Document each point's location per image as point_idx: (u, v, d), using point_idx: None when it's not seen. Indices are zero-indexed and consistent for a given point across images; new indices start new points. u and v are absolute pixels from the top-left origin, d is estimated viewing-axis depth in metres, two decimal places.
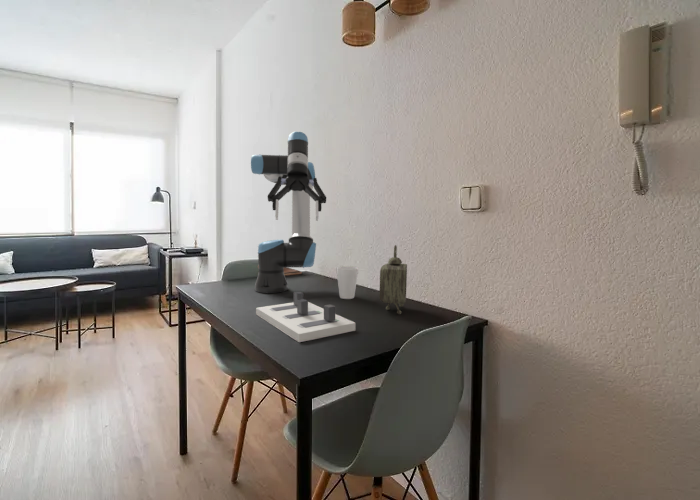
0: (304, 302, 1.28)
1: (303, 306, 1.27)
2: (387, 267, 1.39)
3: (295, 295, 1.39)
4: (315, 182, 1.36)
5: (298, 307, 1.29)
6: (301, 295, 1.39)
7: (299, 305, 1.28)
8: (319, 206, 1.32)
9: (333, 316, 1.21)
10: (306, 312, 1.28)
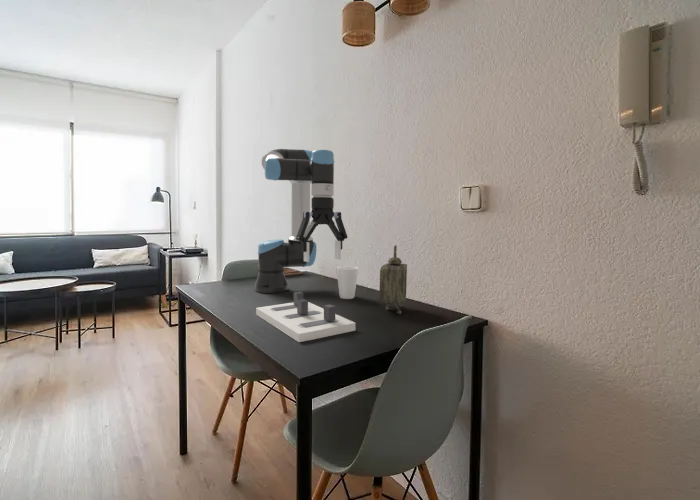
0: (304, 302, 1.28)
1: (303, 306, 1.27)
2: (387, 267, 1.39)
3: (295, 295, 1.39)
4: (339, 218, 1.33)
5: (298, 307, 1.29)
6: (301, 295, 1.39)
7: (299, 305, 1.28)
8: (340, 246, 1.35)
9: (333, 316, 1.21)
10: (306, 312, 1.28)
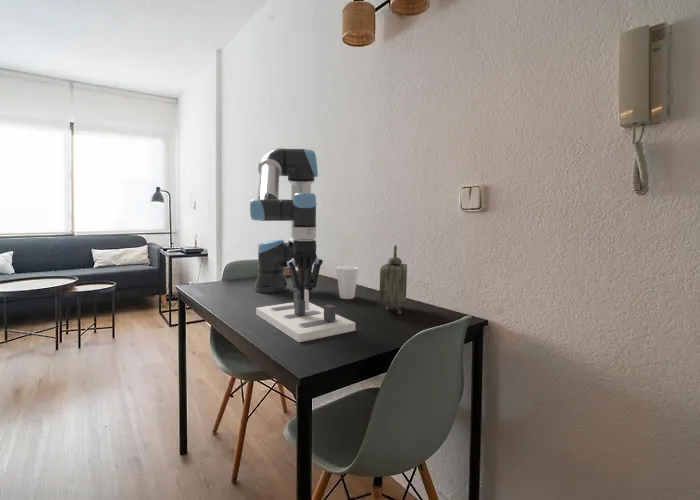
0: (301, 302, 1.27)
1: (300, 306, 1.27)
2: (387, 267, 1.39)
3: (295, 295, 1.39)
4: (319, 265, 1.30)
5: (295, 307, 1.28)
6: None
7: (296, 305, 1.28)
8: (309, 295, 1.29)
9: (333, 316, 1.21)
10: (303, 312, 1.28)
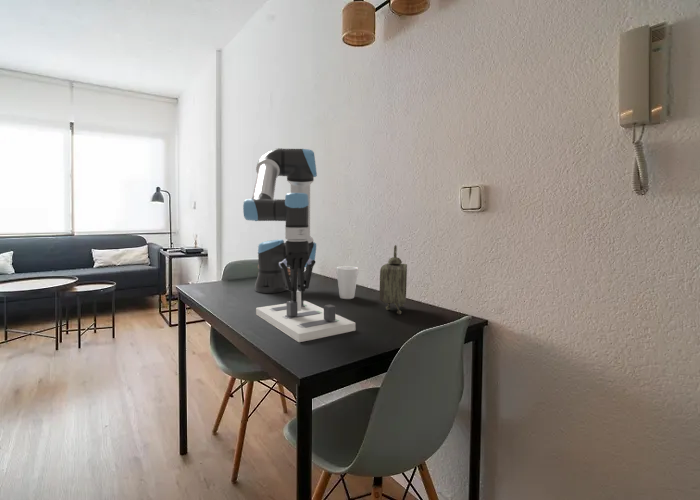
0: (293, 304, 1.25)
1: (292, 308, 1.25)
2: (387, 267, 1.39)
3: None
4: (311, 265, 1.28)
5: (287, 309, 1.27)
6: None
7: (288, 306, 1.26)
8: (301, 297, 1.28)
9: (333, 316, 1.21)
10: (295, 314, 1.26)
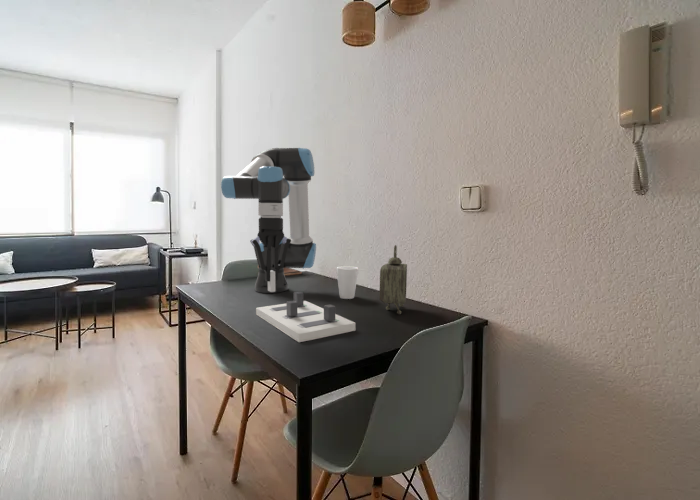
0: (293, 304, 1.25)
1: (292, 308, 1.25)
2: (387, 267, 1.39)
3: (295, 295, 1.39)
4: (286, 244, 1.22)
5: (287, 309, 1.27)
6: (301, 295, 1.39)
7: (288, 306, 1.26)
8: (275, 277, 1.21)
9: (333, 316, 1.21)
10: (295, 314, 1.26)
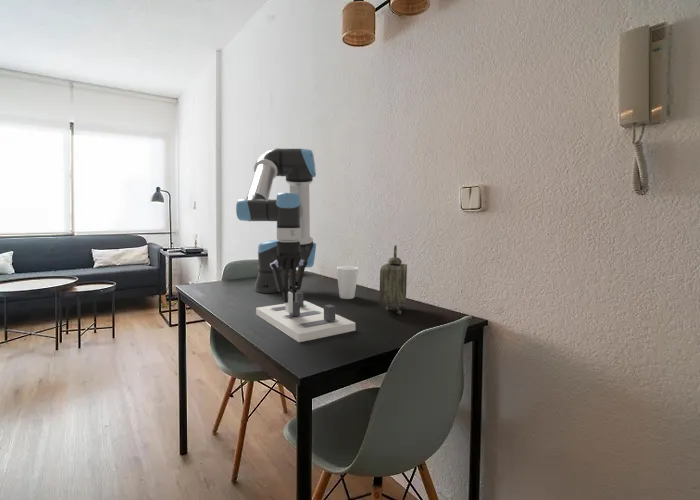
0: (296, 303, 1.26)
1: (295, 307, 1.26)
2: (387, 267, 1.39)
3: (295, 295, 1.39)
4: (303, 266, 1.26)
5: None
6: (301, 295, 1.39)
7: None
8: (293, 298, 1.26)
9: (333, 316, 1.21)
10: (298, 313, 1.27)
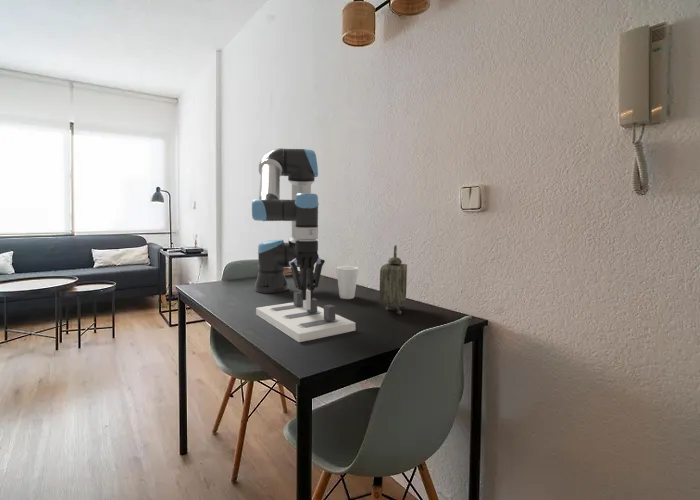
0: (314, 301, 1.30)
1: (313, 305, 1.29)
2: (387, 267, 1.39)
3: (295, 295, 1.39)
4: (321, 265, 1.30)
5: None
6: None
7: None
8: (310, 295, 1.30)
9: (333, 316, 1.21)
10: (315, 310, 1.30)
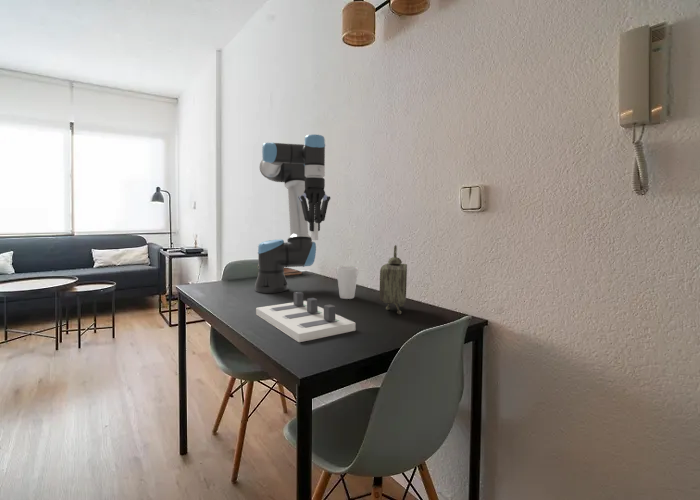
0: (314, 301, 1.30)
1: (313, 304, 1.30)
2: (387, 267, 1.39)
3: (295, 295, 1.39)
4: (327, 201, 1.46)
5: (308, 305, 1.31)
6: (301, 295, 1.39)
7: (308, 303, 1.30)
8: (318, 228, 1.46)
9: (333, 316, 1.21)
10: (316, 310, 1.30)
